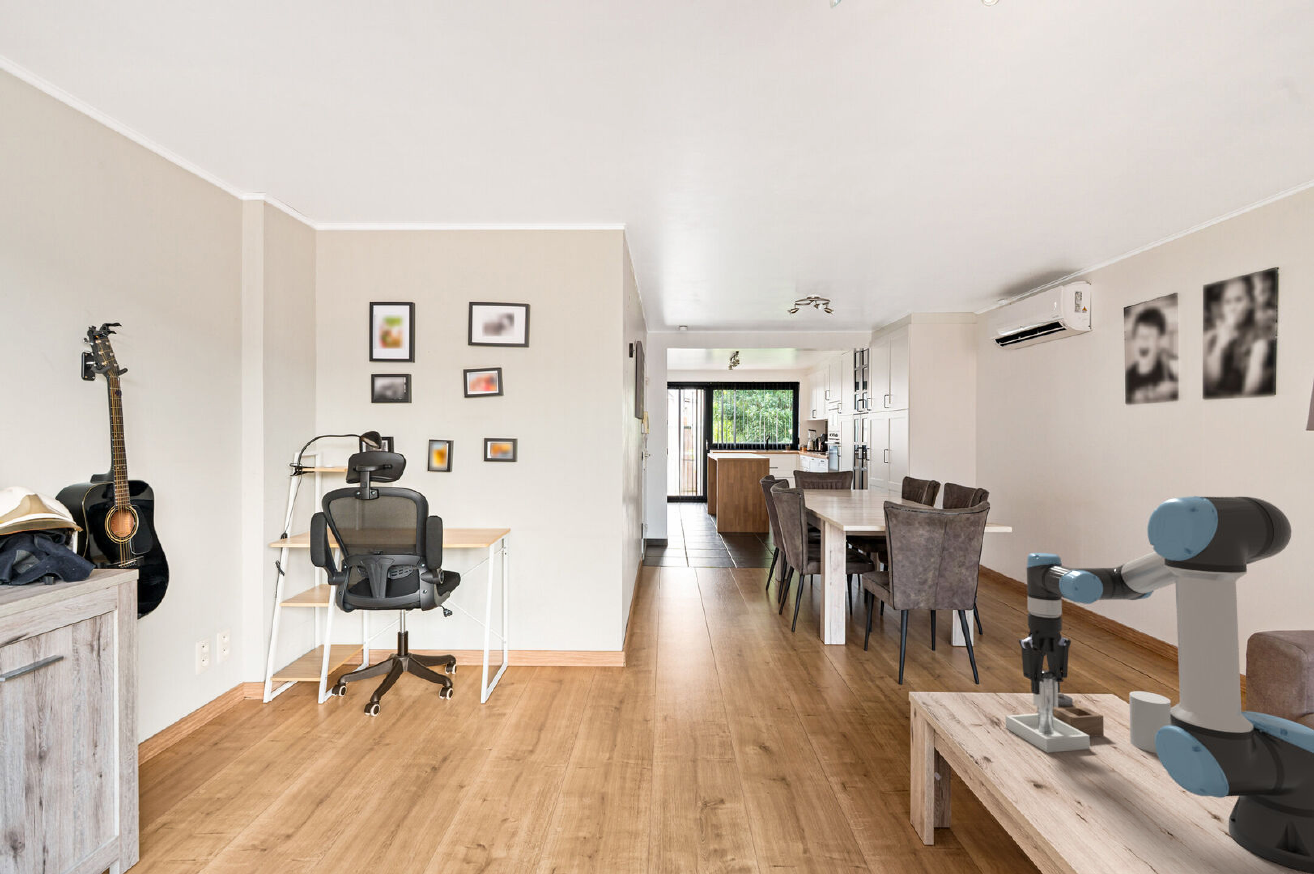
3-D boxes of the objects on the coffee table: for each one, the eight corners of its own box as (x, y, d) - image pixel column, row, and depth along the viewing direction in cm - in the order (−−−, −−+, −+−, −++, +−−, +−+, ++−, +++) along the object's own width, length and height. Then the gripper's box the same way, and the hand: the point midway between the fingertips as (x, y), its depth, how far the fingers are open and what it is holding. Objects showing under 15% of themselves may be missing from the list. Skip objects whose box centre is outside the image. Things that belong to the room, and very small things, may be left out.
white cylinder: (1178, 749, 155) (1177, 700, 156) (1160, 756, 152) (1159, 705, 152) (1141, 736, 163) (1140, 689, 163) (1123, 742, 159) (1122, 694, 160)
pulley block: (1103, 735, 163) (1103, 705, 163) (1073, 737, 162) (1072, 707, 162) (1066, 716, 175) (1065, 688, 175) (1037, 718, 173) (1037, 690, 174)
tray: (1089, 748, 156) (1089, 735, 156) (1046, 752, 154) (1046, 739, 154) (1045, 724, 169) (1045, 712, 169) (1005, 727, 167) (1005, 715, 167)
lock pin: (1057, 734, 160) (1056, 673, 160) (1045, 735, 160) (1044, 674, 160) (1046, 728, 163) (1045, 669, 164) (1035, 729, 163) (1034, 669, 163)
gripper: (1060, 609, 167) (1062, 698, 167) (1005, 611, 165) (1006, 702, 164) (1084, 616, 160) (1085, 709, 159) (1027, 618, 157) (1028, 714, 157)
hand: (1045, 705), depth 162 cm, fingers closed on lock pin, 3 cm apart
